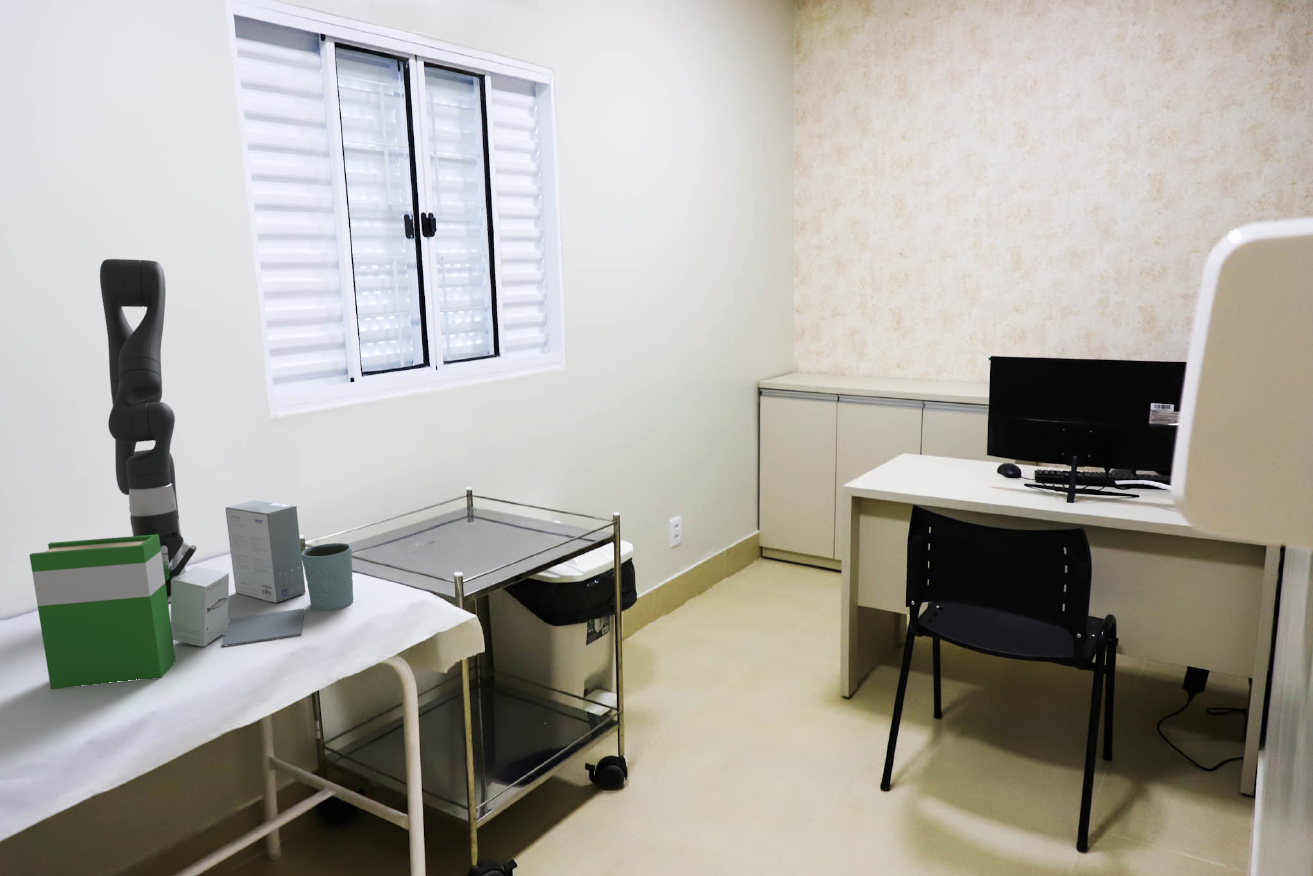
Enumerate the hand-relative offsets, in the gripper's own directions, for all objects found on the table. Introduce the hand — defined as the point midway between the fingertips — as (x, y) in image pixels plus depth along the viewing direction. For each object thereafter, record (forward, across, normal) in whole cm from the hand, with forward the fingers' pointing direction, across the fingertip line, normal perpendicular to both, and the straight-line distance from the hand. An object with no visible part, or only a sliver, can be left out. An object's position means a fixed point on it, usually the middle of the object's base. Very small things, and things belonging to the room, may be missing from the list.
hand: (165, 598), depth 172 cm
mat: (+9, -16, -2) cm, 19 cm away
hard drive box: (+9, -16, -25) cm, 31 cm away
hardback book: (+10, +7, +11) cm, 16 cm away
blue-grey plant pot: (+9, -29, -12) cm, 33 cm away
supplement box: (+9, -5, -1) cm, 10 cm away
